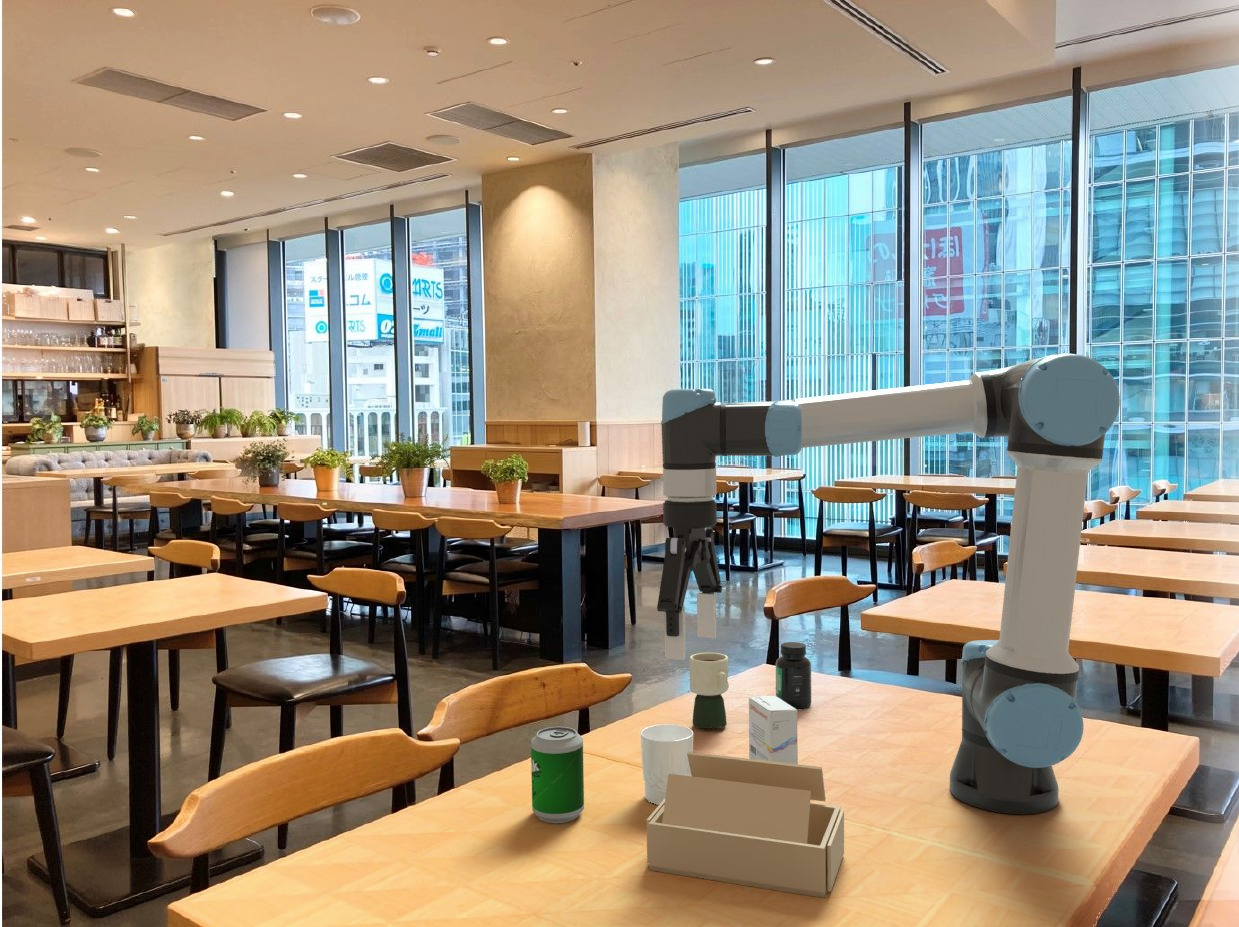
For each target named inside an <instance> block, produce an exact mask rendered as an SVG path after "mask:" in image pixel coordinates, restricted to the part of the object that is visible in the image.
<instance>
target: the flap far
mask: <svg viewBox="0 0 1239 927" xmlns="http://www.w3.org/2000/svg"><path fill="white" fill-rule="evenodd" d="M687 756H688V761H689V766H690V771H691V776H693V777H701V778H709V779H717V780H725V781H734V782H742V783H750V784H758V785H766V786H775V787H783V788H791V789H799V790H807V791H811V798H810V801H816V802H817V801H818V802H826V791H825V781H824V775H823V767H822V766H816V765H808V764H799V763H798V764H791V763H782V762H773V761H764V760H755V759H749V758H745V757H736V756H727V755H719V754H718V755H717V754H709V753H703V752H702V753H701V752H694V751H693V752H688V753H687Z"/></svg>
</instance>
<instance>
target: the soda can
mask: <svg viewBox="0 0 1239 927" xmlns="http://www.w3.org/2000/svg"><path fill="white" fill-rule="evenodd" d="M530 763H531V765H530V766H531V772H530V773H531V809H532V812H533V813H534V814H535V815H536V816H537V817H538V819H539V820H540V821H542V822H544V823H548V824H563V823H564V824H565V823H568V822H573V821H574V820H576V819H577V818H578V817H579V815H580V814H581V813H582V812H583V811H584V809H585V788H584V786H585V783H584V776H585V775H584V774H585V773H584V738H583V736H582V735H580V734H579V733H578V731H577V730H576V729H575V728H572V727H567V726H551V727H545V728H542V729H539V730H538V731H537V732H536V735H535V736H533V737H532V738H531V741H530Z"/></svg>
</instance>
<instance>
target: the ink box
mask: <svg viewBox="0 0 1239 927" xmlns="http://www.w3.org/2000/svg"><path fill="white" fill-rule="evenodd" d="M748 722H749V723H748V738H749V740H748V741H749V742H748V749H749V750H748V752H749V753H748V759H755V760H764V761H773V762H782V763H791V764H799V762H798V760H799V758H798V756H799V754H798V753H799V752H798V751H799V750H798V745H799V744H798V710H797V709H795V708H794V707H792V706H790V705H789V704H787V703H786V702H784V701H783V700H781V699H780V698H778V697H777V696H776V695H762V696H761V695H760V696H751V697H749V698H748Z"/></svg>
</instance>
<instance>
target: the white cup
mask: <svg viewBox="0 0 1239 927" xmlns="http://www.w3.org/2000/svg"><path fill="white" fill-rule="evenodd" d="M640 745H641V763H642V764H641V765H642V774H643V775H642V776H643V780H644V795H645V796H644V797H645V799H646V800H647V802H648V803H650V802H651V803H650V804H652V803H654V804H653V805H655V804H656V806H659V805H660V803H661V802H662V801H663V800H664V799H665V797H666V789H667V782H668V774H676V775H684V776H691V771H690V766H689V761H688V756H687V753H688V752H693V753H694V751H693V750H694V731H693V730H692V729H691V728H689V727H687V726H684V725H679V724H672V723H671V724H670V723H668V724H667V723H666V724H665V723H664V724H654V725H649V726H647V727H645V728H643V729H641V730H640Z"/></svg>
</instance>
